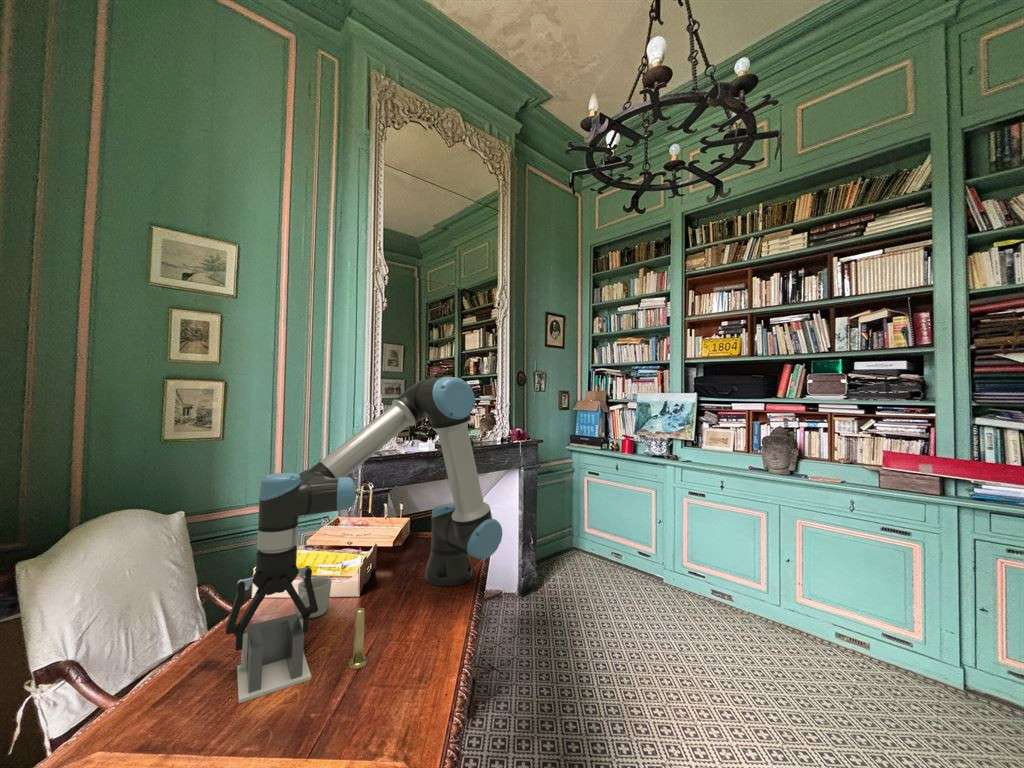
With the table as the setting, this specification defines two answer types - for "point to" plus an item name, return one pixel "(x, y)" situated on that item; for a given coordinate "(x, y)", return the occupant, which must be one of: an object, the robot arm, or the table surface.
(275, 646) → the grey u-shaped block
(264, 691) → the pad
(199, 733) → the table surface
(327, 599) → the cup
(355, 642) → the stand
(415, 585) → the table surface
